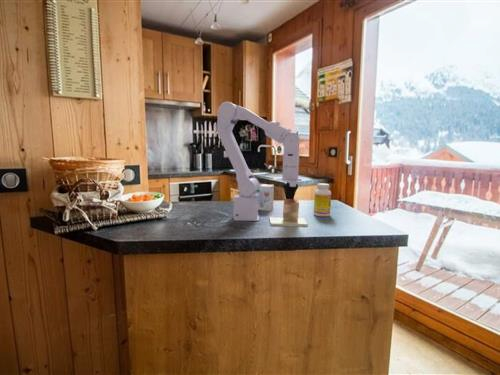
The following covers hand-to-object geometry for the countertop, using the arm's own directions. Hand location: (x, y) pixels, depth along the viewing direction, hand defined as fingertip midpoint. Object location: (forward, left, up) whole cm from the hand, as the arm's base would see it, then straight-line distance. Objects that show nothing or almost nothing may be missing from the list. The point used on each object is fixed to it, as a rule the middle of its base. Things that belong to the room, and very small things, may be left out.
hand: (289, 203), depth 108 cm
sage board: (-1, -1, -7) cm, 7 cm away
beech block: (0, -1, -6) cm, 6 cm away
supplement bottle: (+15, +12, -7) cm, 20 cm away
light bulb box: (-10, +22, -7) cm, 25 cm away
